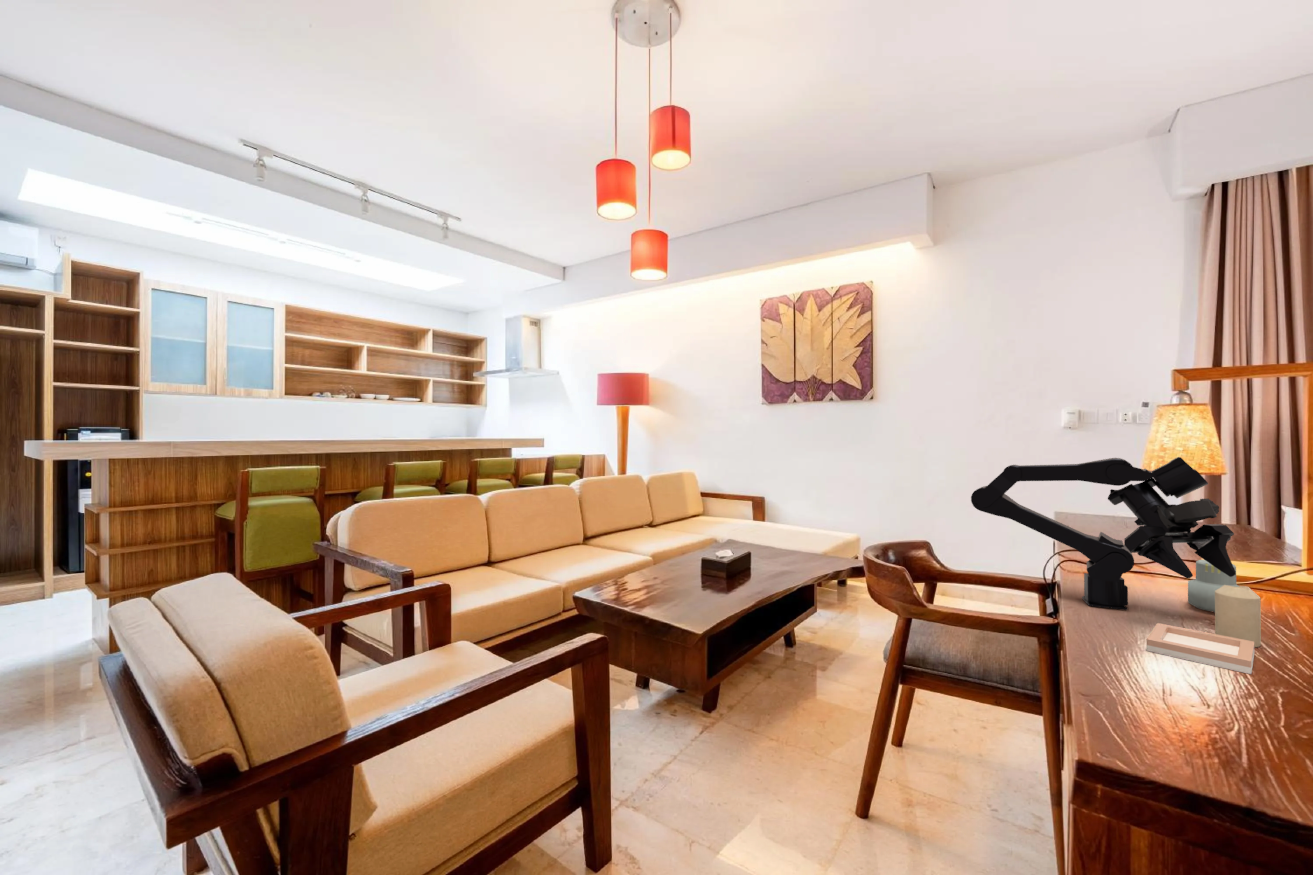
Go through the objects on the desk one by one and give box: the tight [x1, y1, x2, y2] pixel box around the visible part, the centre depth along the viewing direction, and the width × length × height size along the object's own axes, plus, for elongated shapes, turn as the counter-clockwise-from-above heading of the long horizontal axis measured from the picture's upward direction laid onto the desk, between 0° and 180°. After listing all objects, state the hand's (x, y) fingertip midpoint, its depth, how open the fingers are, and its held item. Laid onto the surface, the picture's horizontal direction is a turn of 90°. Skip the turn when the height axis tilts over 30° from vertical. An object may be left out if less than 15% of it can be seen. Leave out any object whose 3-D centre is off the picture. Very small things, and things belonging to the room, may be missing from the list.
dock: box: [1145, 622, 1255, 675], centre depth 90 cm, size 12×12×2 cm
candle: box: [1214, 585, 1262, 648], centre depth 95 cm, size 6×6×10 cm
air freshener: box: [1187, 559, 1240, 613], centre depth 112 cm, size 11×8×10 cm
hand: (1212, 576), depth 99 cm, fingers open, 9 cm apart
